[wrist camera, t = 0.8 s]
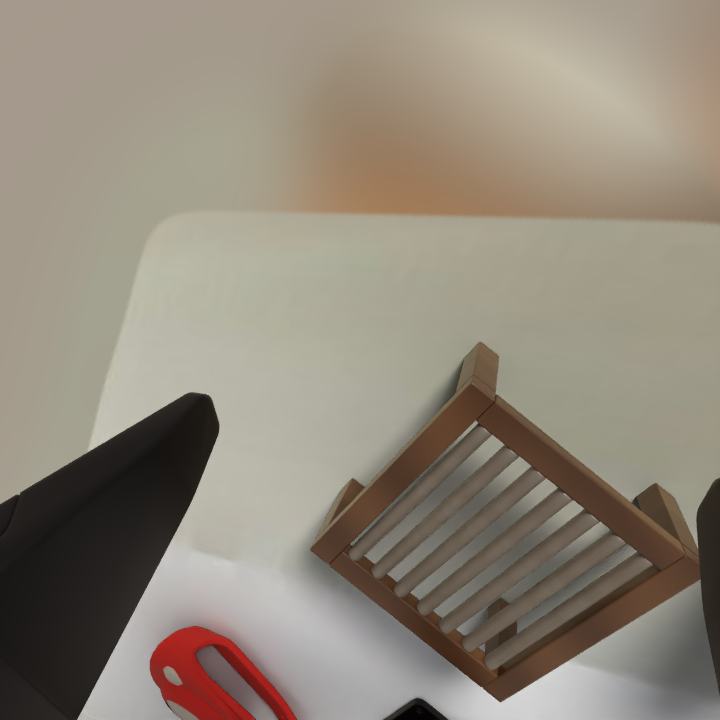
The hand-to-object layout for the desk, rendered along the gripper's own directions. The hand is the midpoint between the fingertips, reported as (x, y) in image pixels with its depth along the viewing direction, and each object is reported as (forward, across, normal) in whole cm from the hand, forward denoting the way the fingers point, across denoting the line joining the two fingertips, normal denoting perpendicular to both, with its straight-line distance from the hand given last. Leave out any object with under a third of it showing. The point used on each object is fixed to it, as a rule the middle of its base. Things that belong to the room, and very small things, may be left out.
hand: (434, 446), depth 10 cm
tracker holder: (+6, +14, +36) cm, 39 cm away
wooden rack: (+12, -2, +16) cm, 20 cm away
